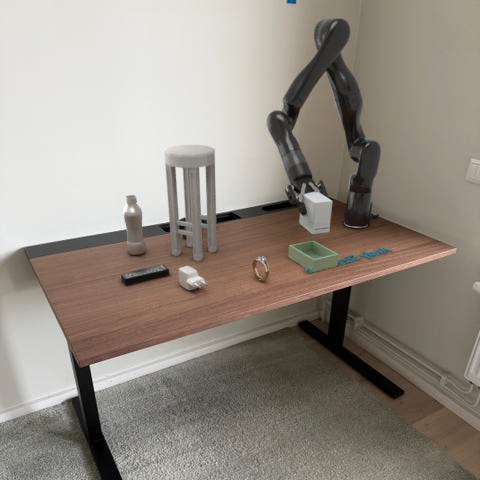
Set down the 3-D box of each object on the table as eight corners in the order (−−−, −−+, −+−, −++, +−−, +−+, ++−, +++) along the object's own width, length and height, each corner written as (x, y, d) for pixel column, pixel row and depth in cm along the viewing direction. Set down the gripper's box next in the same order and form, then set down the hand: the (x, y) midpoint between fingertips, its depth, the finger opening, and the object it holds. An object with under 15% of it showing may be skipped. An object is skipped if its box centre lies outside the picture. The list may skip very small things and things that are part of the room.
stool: (189, 241, 176) (184, 142, 158) (224, 249, 170) (223, 147, 152) (163, 255, 165) (154, 150, 147) (200, 264, 158) (196, 156, 140)
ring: (270, 283, 147) (271, 259, 143) (262, 285, 145) (262, 261, 141) (258, 275, 152) (259, 251, 148) (250, 277, 151) (250, 253, 146)
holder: (312, 251, 169) (313, 240, 167) (337, 266, 158) (339, 254, 156) (288, 257, 164) (288, 245, 162) (312, 272, 154) (313, 260, 152)
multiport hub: (121, 280, 148) (120, 273, 147) (164, 270, 155) (163, 263, 153) (126, 286, 145) (125, 279, 144) (169, 275, 151) (169, 268, 150)
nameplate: (393, 253, 168) (383, 248, 172) (393, 251, 168) (383, 246, 172) (310, 275, 152) (301, 269, 156) (310, 273, 152) (301, 267, 156)
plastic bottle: (150, 251, 168) (144, 195, 158) (139, 258, 163) (132, 200, 153) (135, 248, 170) (128, 192, 160) (123, 255, 165) (116, 198, 155)
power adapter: (211, 294, 141) (210, 276, 138) (197, 299, 138) (197, 280, 135) (190, 281, 148) (189, 263, 145) (177, 285, 145) (175, 268, 142)
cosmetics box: (298, 223, 159) (300, 192, 153) (315, 222, 160) (318, 191, 155) (311, 234, 150) (314, 202, 145) (329, 232, 152) (333, 200, 147)
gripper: (283, 163, 150) (302, 210, 147) (320, 159, 156) (338, 203, 153) (273, 176, 156) (291, 221, 154) (309, 171, 162) (326, 215, 160)
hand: (314, 212), depth 153 cm, fingers closed on cosmetics box, 7 cm apart
